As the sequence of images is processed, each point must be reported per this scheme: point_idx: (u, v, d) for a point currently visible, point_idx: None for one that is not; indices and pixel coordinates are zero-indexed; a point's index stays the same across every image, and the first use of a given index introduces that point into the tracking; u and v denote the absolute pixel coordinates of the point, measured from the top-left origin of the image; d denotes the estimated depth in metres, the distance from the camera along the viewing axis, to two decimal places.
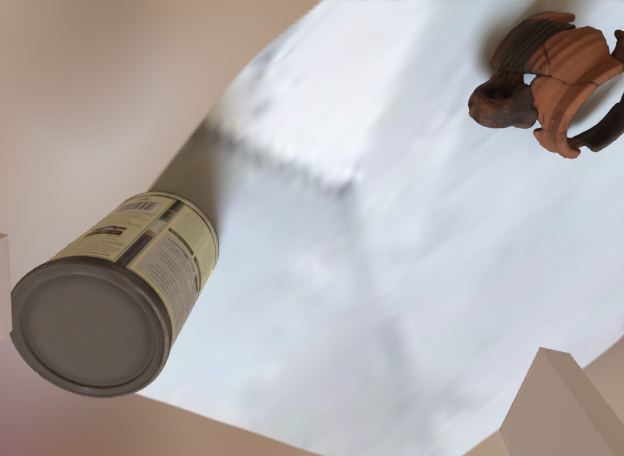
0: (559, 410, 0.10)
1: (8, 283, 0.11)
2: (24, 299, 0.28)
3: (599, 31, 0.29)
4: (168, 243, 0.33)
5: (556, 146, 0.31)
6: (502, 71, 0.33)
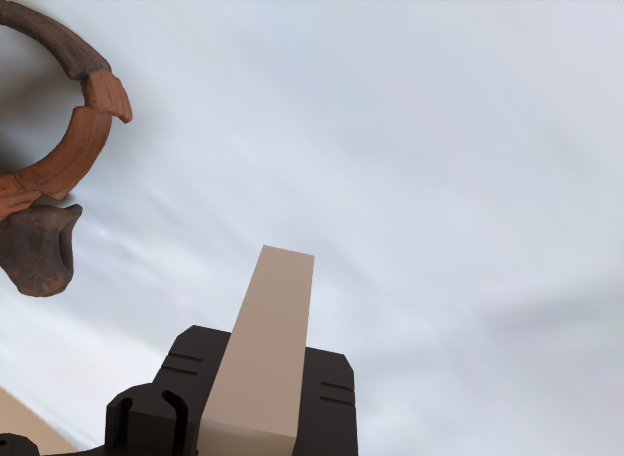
0: None
1: None
2: None
3: None
4: None
5: (57, 174, 0.17)
6: None
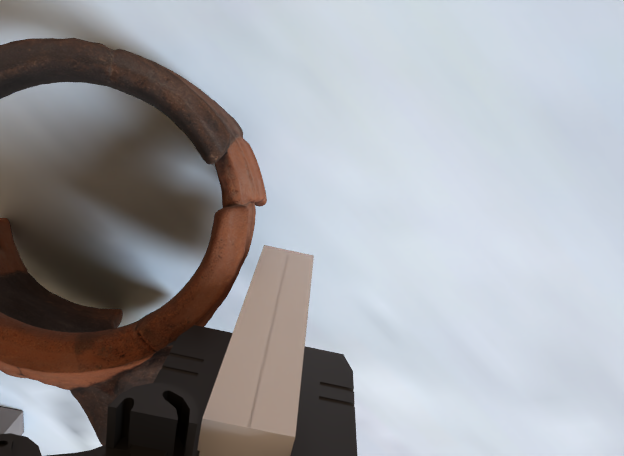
0: None
1: None
2: None
3: None
4: None
5: (199, 320, 0.10)
6: None
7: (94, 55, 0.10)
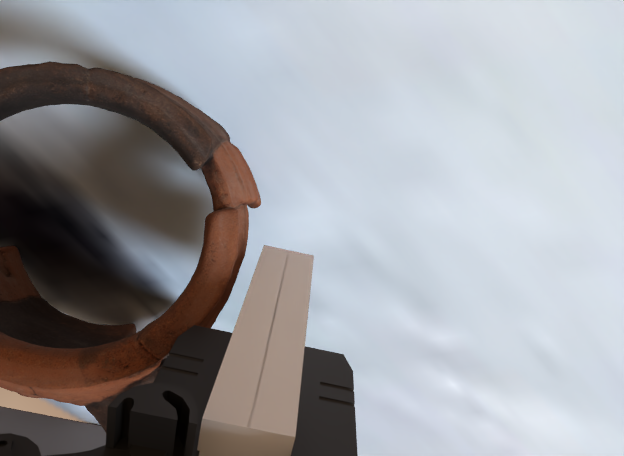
0: None
1: None
2: None
3: None
4: None
5: (199, 325, 0.11)
6: None
7: (70, 76, 0.10)
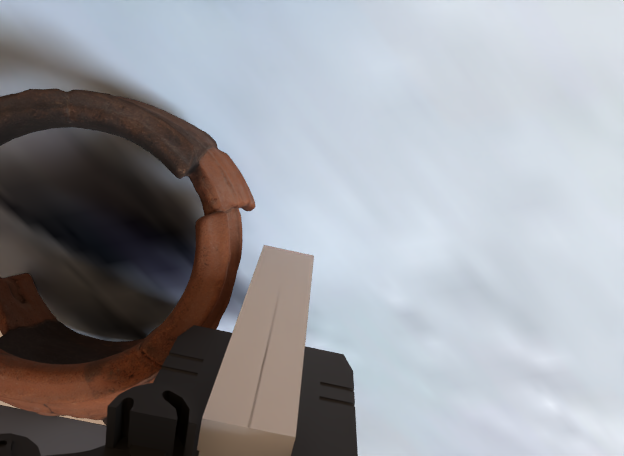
0: None
1: None
2: None
3: None
4: None
5: None
6: None
7: (50, 101, 0.10)
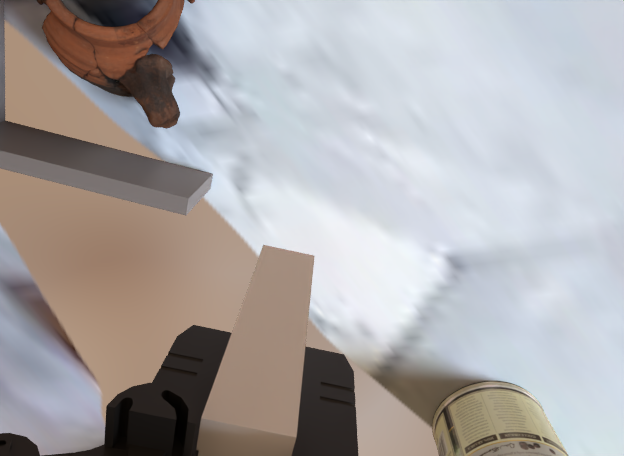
0: None
1: None
2: None
3: (43, 29, 0.27)
4: None
5: (161, 20, 0.26)
6: (132, 95, 0.31)
7: None
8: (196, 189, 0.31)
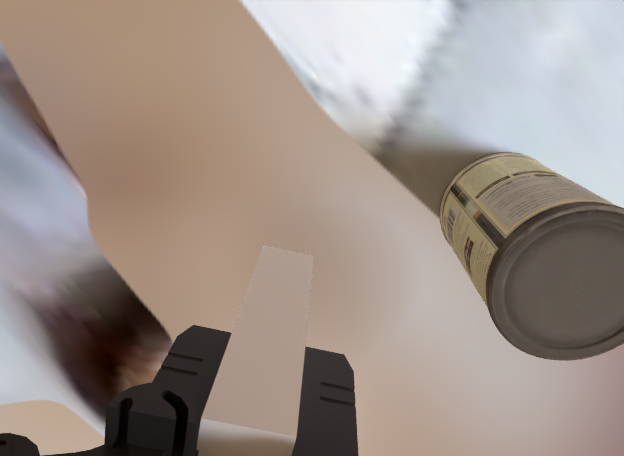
0: None
1: None
2: (525, 337, 0.28)
3: None
4: (491, 198, 0.31)
5: None
6: None
7: None
8: None
